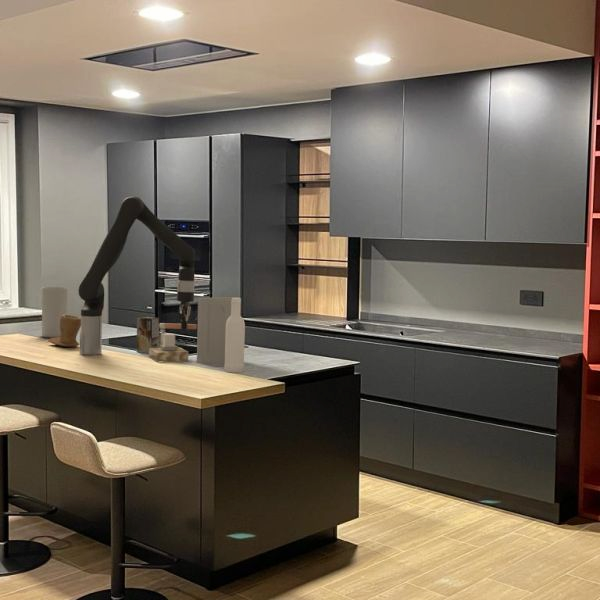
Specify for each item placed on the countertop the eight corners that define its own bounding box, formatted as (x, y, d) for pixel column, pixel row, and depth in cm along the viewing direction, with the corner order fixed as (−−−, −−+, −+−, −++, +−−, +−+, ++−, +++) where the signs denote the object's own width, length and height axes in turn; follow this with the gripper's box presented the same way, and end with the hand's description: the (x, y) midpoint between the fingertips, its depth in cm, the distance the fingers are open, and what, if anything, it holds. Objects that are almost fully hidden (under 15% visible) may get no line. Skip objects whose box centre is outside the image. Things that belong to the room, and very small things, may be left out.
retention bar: (195, 329, 384) (195, 324, 384) (159, 328, 384) (159, 323, 384) (196, 328, 387) (196, 324, 387) (160, 327, 387) (160, 323, 387)
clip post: (158, 356, 383) (158, 329, 382) (155, 354, 388) (156, 328, 387) (169, 355, 385) (169, 329, 384) (166, 354, 390) (166, 327, 389)
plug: (162, 360, 372) (163, 335, 371) (159, 358, 378) (159, 333, 377) (177, 359, 375) (178, 335, 374) (173, 357, 381) (174, 333, 380)
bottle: (234, 368, 355) (235, 297, 353) (247, 371, 350) (249, 298, 348) (220, 370, 349) (222, 297, 347) (234, 373, 344) (236, 299, 342)
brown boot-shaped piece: (86, 347, 406) (86, 315, 405) (63, 348, 397) (63, 316, 396) (69, 343, 417) (70, 312, 415) (47, 345, 408) (47, 313, 407)
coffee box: (160, 352, 396) (160, 317, 395) (151, 353, 390) (152, 318, 389) (144, 350, 400) (145, 316, 399) (135, 352, 394) (136, 317, 393)
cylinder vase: (36, 336, 436) (37, 288, 434) (50, 334, 448) (51, 286, 446) (58, 338, 433) (58, 289, 431) (71, 335, 445) (72, 287, 443)
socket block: (156, 361, 367) (156, 352, 367) (149, 357, 380) (149, 348, 380) (188, 360, 373) (188, 351, 373) (179, 356, 386) (179, 347, 385)
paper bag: (211, 367, 357) (213, 300, 355) (196, 362, 370) (197, 297, 368) (251, 364, 368) (253, 299, 366) (234, 359, 380) (236, 297, 378)
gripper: (189, 291, 375) (187, 331, 376) (198, 290, 388) (196, 328, 389) (173, 290, 376) (171, 330, 377) (182, 289, 389) (180, 327, 390)
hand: (184, 329), depth 383 cm, fingers closed
